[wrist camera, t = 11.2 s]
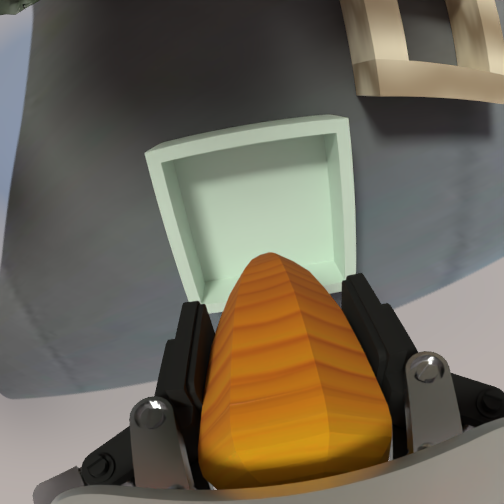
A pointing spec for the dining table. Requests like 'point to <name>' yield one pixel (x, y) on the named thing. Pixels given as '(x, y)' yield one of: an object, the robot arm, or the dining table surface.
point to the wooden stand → (424, 73)
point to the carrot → (287, 386)
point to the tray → (257, 201)
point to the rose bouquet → (14, 6)
